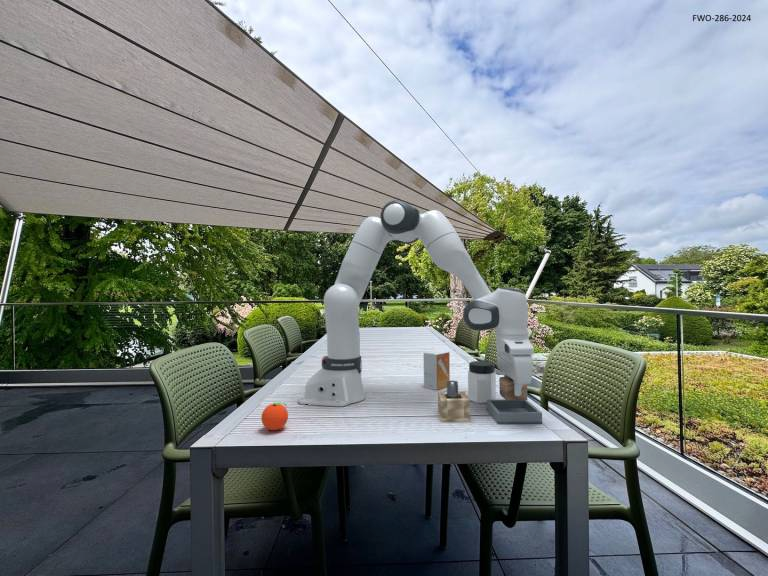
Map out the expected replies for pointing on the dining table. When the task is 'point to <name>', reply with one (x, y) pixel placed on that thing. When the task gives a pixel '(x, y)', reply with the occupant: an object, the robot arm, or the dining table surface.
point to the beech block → (454, 408)
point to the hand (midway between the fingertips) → (512, 391)
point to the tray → (514, 412)
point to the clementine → (274, 416)
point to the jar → (481, 381)
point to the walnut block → (511, 389)
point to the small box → (436, 369)
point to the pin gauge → (452, 389)
